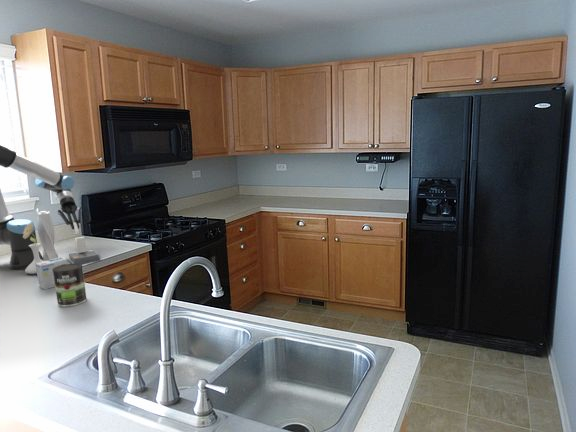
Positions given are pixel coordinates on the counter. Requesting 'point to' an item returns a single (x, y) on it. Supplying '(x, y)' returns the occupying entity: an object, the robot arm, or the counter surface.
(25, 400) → the counter surface
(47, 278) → the light bulb box
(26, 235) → the flower in vase
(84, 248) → the white cylinder
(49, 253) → the skyscraper
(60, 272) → the coffee can
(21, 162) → the robot arm
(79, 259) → the switch box
